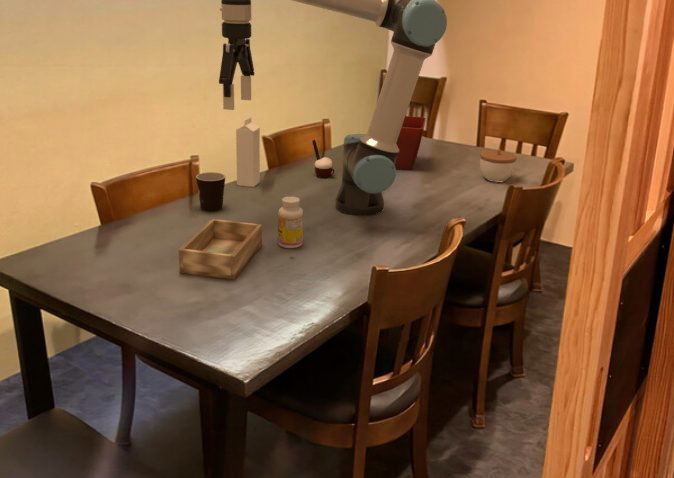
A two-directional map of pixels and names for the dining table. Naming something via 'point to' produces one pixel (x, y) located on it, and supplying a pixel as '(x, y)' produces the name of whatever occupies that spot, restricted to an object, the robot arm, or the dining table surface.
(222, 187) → the coffee mug
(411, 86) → the robot arm
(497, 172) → the lidded bowl
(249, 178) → the milk
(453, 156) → the dining table surface
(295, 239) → the supplement bottle
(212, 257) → the walled box
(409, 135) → the plant pot
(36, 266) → the dining table surface
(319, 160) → the cocoa
